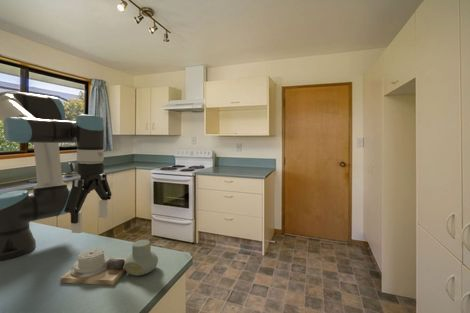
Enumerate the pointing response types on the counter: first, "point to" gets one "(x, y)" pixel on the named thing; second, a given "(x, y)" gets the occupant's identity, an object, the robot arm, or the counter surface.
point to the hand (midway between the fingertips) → (91, 224)
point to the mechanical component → (90, 261)
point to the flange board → (97, 274)
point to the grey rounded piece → (141, 259)
